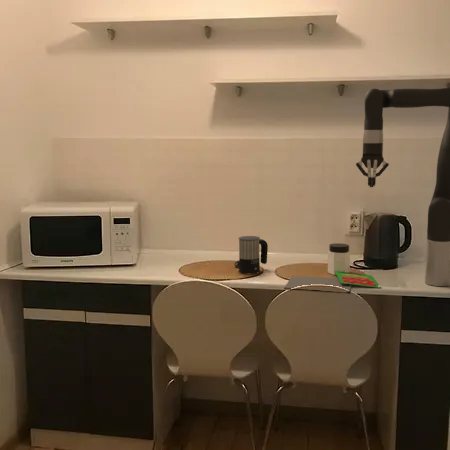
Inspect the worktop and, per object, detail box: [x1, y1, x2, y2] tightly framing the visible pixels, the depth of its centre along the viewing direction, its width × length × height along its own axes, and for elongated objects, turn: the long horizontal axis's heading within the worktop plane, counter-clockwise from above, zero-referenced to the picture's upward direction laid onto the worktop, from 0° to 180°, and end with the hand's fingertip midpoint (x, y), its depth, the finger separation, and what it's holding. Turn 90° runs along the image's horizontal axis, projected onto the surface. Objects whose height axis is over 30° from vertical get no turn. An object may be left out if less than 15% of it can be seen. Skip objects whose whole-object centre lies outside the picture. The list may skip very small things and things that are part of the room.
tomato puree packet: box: [335, 271, 381, 289], centre depth 230 cm, size 15×1×20 cm
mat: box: [283, 275, 352, 291], centre depth 226 cm, size 24×20×1 cm
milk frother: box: [234, 235, 269, 274], centre depth 251 cm, size 14×16×15 cm
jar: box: [327, 242, 351, 276], centre depth 244 cm, size 9×8×12 cm
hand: (371, 187), depth 228 cm, fingers closed
